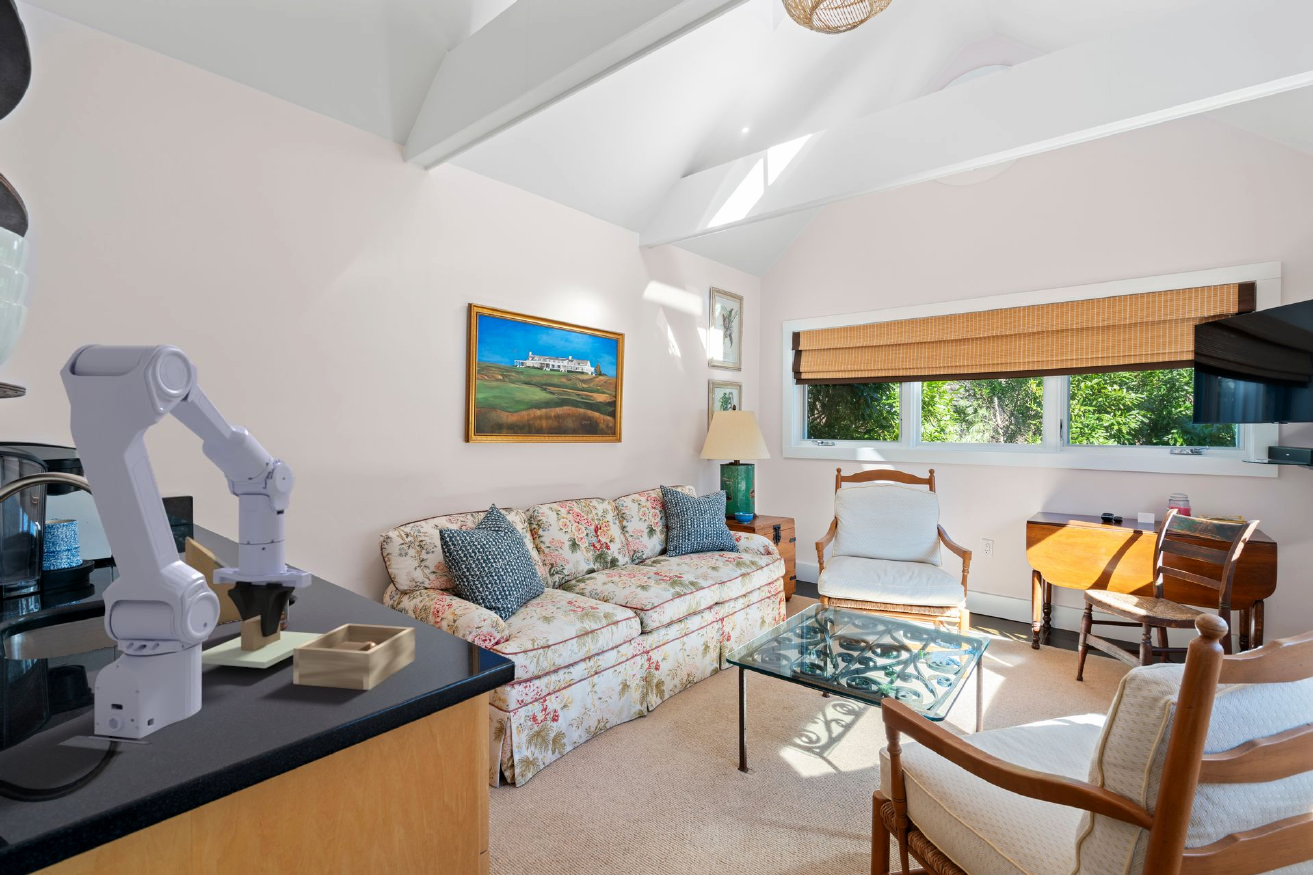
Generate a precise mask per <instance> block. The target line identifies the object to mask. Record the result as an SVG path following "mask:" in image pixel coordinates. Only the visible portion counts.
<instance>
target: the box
mask: <svg viewBox="0 0 1313 875" xmlns="http://www.w3.org/2000/svg"><path fill="white" fill-rule="evenodd" d="M322 634H323V635H321V636H319V637H317V638H315V639H313V640H310V641H308V642H306V643H304V644H302V645H300V646H297V647H295V648H293V655H292V656H293V659H292V660H293V662H292V663H293V669H292V670H293V671H292V672H293V674H292V675H293V676H292V677H293V678H292V679H293V680H292V681H293V682H292V683H293V685H299V686H300V685H302V686H313V687H314V686H315V687H326V688H338V689H339V688H340V689H352V690H363V691H370V690H372V689H373V688H374V687H376V686H377V685H379V684H381V683H382V682H383V681H385V680H386V679H388V678H390V677H391V676H393V675H394V674H396V673H397V672H398V671H401V670H402V669H404V668H405V667H406V666H408V665H409V664H412V662H414V661H415V660H416V627H412V626H411V627H410V626H408V627H407V626H394V625H379V624H364V623H345V624H343V625H340V626H338V627H337V628H334V629H332V630H330V631H328V632H326V633H322ZM343 642H358V643H365V642H374V643H376V644H377V645H378V646H376V647H374V648H372V649H370V650H369V651H357V650H343V649H331V648H333V647H335V646H337V645H339V644H341V643H343Z"/></svg>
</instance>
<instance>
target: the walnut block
mask: <svg viewBox="0 0 1313 875" xmlns="http://www.w3.org/2000/svg"><path fill="white" fill-rule="evenodd" d="M331 649H343V650H357V651H369V650H370V643H358V642H343V643H341V644H339V645H337V646H335V647H333V648H331Z"/></svg>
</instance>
